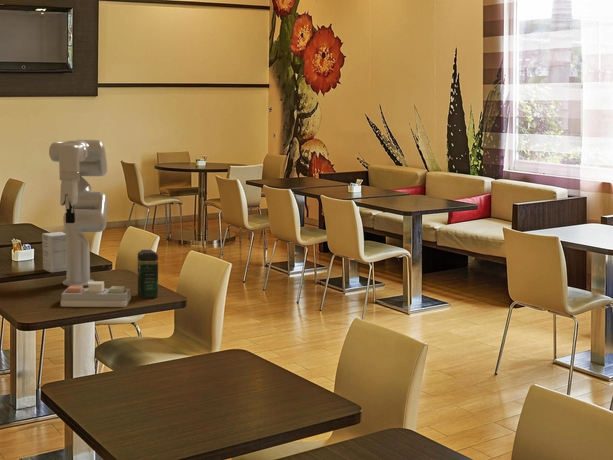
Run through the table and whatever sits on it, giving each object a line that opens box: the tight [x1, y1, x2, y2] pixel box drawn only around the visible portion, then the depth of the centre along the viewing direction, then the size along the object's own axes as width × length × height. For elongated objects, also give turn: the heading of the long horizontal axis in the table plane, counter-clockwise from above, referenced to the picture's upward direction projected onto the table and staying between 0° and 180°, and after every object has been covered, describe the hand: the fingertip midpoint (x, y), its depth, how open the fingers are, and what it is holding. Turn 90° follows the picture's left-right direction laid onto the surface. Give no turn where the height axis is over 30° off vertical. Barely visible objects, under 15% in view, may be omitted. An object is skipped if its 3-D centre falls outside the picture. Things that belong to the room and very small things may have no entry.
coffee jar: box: [137, 249, 159, 299], centre depth 328 cm, size 10×8×19 cm
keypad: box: [60, 287, 132, 308], centre depth 316 cm, size 13×24×4 cm, turn 93°
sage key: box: [110, 285, 126, 293], centre depth 316 cm, size 5×5×4 cm
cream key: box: [87, 280, 105, 293], centre depth 315 cm, size 5×5×4 cm
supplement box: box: [41, 231, 67, 273], centre depth 375 cm, size 10×9×17 cm
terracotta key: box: [66, 286, 84, 293], centre depth 315 cm, size 5×5×4 cm
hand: (70, 222), depth 323 cm, fingers closed
